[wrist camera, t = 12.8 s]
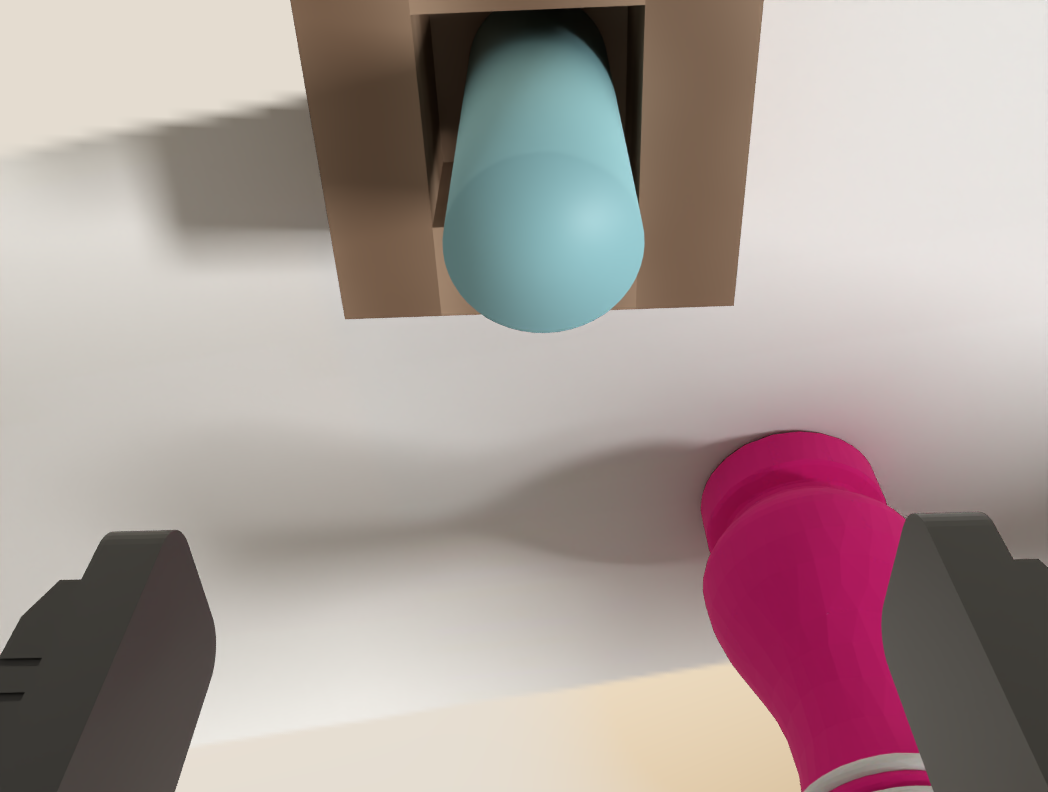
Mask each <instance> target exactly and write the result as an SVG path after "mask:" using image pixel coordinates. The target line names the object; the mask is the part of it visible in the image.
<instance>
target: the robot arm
mask: <svg viewBox="0 0 1048 792" xmlns="http://www.w3.org/2000/svg"><path fill="white" fill-rule="evenodd" d="M881 629H882V641H883V648H884V653H885V657H886V661H887V664H888V667H889V670H890V673H891V676H892V678H893V681H894V684H895V687H896V689H897V692H898V695H899V698H900V701H901V703H902V706H903V709H904V712H905V714H906V717H907V720H908V723H909V725H910V728H911V731H912V734H913V736H914V739H915V742H916V745H917V747H918V750H919V753H920V756H921V759H922V761H923V764H924V767H925V770H926V772H927V775H928V778H929V781H930V783H931V786H932V789H933V792H1048V567H1047V566H1046V565H1044V564H1043V563H1042V562H1041V561H1040V560H1039V559H1020V560H1013V558H1012V556H1011V554H1010V553H1009V551H1008V549H1007V547H1006V545H1005V543H1004V542H1003V540H1002V538H1001V536H1000V534H999V532H998V531H997V529H996V527H995V525H994V524H993V522H992V520H991V519H990V518H989V517H988V516H987V515H986V514H984V513H982V512H959V513H920V514H911V515H909V516H908V517H907V519H906V520H905V522H904V525H903V529H902V532H901V536H900V540H899V544H898V548H897V552H896V556H895V560H894V564H893V568H892V572H891V576H890V580H889V584H888V588H887V592H886V596H885V600H884V604H883V609H882V620H881ZM215 654H216V634H215V626H214V621H213V618H212V614H211V611H210V608H209V605H208V602H207V599H206V596H205V593H204V590H203V587H202V584H201V581H200V578H199V575H198V572H197V569H196V566H195V563H194V560H193V557H192V554H191V551H190V548H189V545H188V542H187V540H186V538H185V536H184V535H183V534H182V533H181V532H180V531H178V530H161V531H121V532H110V533H108V534H107V535H105V537H104V538H103V539H102V540H101V542H100V544H99V545H98V547H97V549H96V551H95V553H94V555H93V557H92V559H91V561H90V563H89V565H88V567H87V569H86V571H85V573H84V575H83V577H82V579H81V580H59V581H58V582H57V583H56V584H55V585H54V586H53V587H52V588H51V589H50V590H49V591H48V592H47V593H46V594H45V595H44V596H43V597H42V598H41V599H40V600H38V601H37V602H36V603H35V604H34V605H33V606H32V607H31V608H30V609H29V610H28V611H27V612H26V613H25V614H24V615H23V616H22V617H21V619H20V620H19V622H18V624H17V626H16V628H15V630H14V631H13V633H12V635H11V637H10V639H9V641H8V642H7V644H6V646H5V648H4V650H3V652H2V653H1V655H0V792H175V789H176V786H177V783H178V780H179V777H180V773H181V771H182V767H183V764H184V761H185V758H186V755H187V752H188V749H189V746H190V743H191V739H192V736H193V733H194V730H195V727H196V724H197V721H198V718H199V715H200V711H201V708H202V705H203V702H204V699H205V696H206V693H207V690H208V687H209V683H210V680H211V677H212V673H213V669H214V663H215Z"/></svg>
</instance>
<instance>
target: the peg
mask: <svg viewBox="0 0 1048 792" xmlns="http://www.w3.org/2000/svg"><path fill="white" fill-rule="evenodd" d="M442 240H443V255H444V261H445V265H446V268H447V271H448V274H449V276H450V278H451V280H452V282H453V284H454V286H455V287H456V289H457V290H458V292H459V293H460V295H461V296H462V297H463V298H464V299H465V300H466V302H467V303H468V304H469V305H471V306H472V307H473V308H474V309H475V310H476V311H478V312H479V313H480V314H482V315H483V316H485V317H486V318H488V319H490V320H492V321H494V322H496V323H498V324H500V325H503V326H506V327H508V328H512V329H516V330H520V331H526V332H533V333H550V332H560V331H565V330H570V329H573V328H576V327H579V326H582V325H585V324H587V323H589V322H591V321H594V320H595V319H597V318H599V317H600V316H602V315H604V314H605V313H606V312H608V311H609V310H610V309H611V308H613V307H614V306H615V305H616V304H617V303H618V302H619V301H620V300H621V299H622V298H623V297H624V295H625V294H626V293H627V292H628V290H629V289H630V287H631V286H632V284H633V282H634V281H635V279H636V277H637V274H638V272H639V269H640V267H641V263H642V259H643V254H644V229H643V224H642V219H641V214H640V209H639V204H638V200H637V195H636V190H635V185H634V181H633V176H632V171H631V166H630V161H629V157H628V152H627V147H626V142H625V138H624V133H623V128H622V123H621V118H620V114H619V109H618V104H617V99H616V95H615V90H614V85H613V80H612V76H611V71H610V66H609V61H608V56H607V52H606V47H605V43H604V40H603V37H602V35H601V33H600V31H599V29H598V28H597V26H596V25H595V23H594V22H593V20H592V19H591V18H590V17H589V16H588V15H587V14H586V13H585V12H584V11H583V10H582V9H581V8H560V9H536V10H512V11H493V12H492V13H491V14H490V15H489V16H488V17H487V18H486V19H485V21H484V22H483V23H482V24H481V26H480V28H479V29H478V31H477V33H476V35H475V37H474V40H473V42H472V46H471V50H470V56H469V62H468V69H467V76H466V83H465V89H464V96H463V103H462V109H461V116H460V123H459V130H458V136H457V143H456V150H455V156H454V163H453V170H452V177H451V183H450V190H449V197H448V203H447V210H446V217H445V224H444V231H443V239H442Z"/></svg>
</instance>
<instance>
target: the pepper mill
mask: <svg viewBox="0 0 1048 792" xmlns="http://www.w3.org/2000/svg"><path fill="white" fill-rule="evenodd" d="M701 514H702V520H703V524H704V529H705V534H706V538H707V543H708V547H709V551H710V553H711V554H710V556H709V558H708V561H707V564H706V569H705V573H704V577H703V594H704V599H705V604H706V608H707V611H708V615H709V618H710V621H711V624H712V627H713V630H714V633H715V635H716V637H717V639H718V641H719V643H720V645H721V646H722V648H723V650H724V652H725V653H726V655H727V657H728V659H729V660H730V662H731V663H732V665H733V666H734V667H735V668H736V670H737V671H738V673H739V674H740V675H741V676H742V678H743V679H744V680H745V681H746V683H747V684H748V685H749V686H750V688H751V689H752V690H753V691H754V692H755V694H756V695H757V696H758V697H759V699H760V700H761V701H762V702H763V703H764V705H765V706H766V707H767V709H768V710H769V711H770V712H771V714H772V715H773V717H774V718H775V719H776V721H777V722H778V724H779V726H780V728H781V730H782V732H783V734H784V735H785V737H786V739H787V741H788V744H789V747H790V750H791V753H792V755H793V758H794V762H795V765H796V768H797V771H798V773H799V778H800V785H801V792H933V789H932V786H931V783H930V781H929V778H928V775H927V772H926V770H925V767H924V764H923V761H922V759H921V756H920V753H919V750H918V747H917V745H916V742H915V739H914V736H913V734H912V731H911V728H910V725H909V723H908V720H907V717H906V714H905V712H904V709H903V706H902V703H901V701H900V698H899V695H898V692H897V689H896V687H895V684H894V681H893V678H892V676H891V673H890V670H889V667H888V664H887V661H886V657H885V653H884V648H883V641H882V629H881V620H882V609H883V604H884V600H885V596H886V592H887V588H888V584H889V580H890V576H891V572H892V568H893V564H894V560H895V556H896V552H897V548H898V544H899V540H900V536H901V532H902V529H903V525H904V522H905V520H906V519H905V518H903V517H902V516H901V515H900V514H899V513H897V512H896V511H895V510H894V509H892V508H890V507H889V506H887V503H886V500H885V498H884V495H883V493H882V491H881V488H880V486H879V484H878V481H877V479H876V477H875V475H874V472H873V470H872V468H871V465H870V464H869V462H868V461H867V459H866V458H865V457H864V456H863V455H862V453H861V452H860V451H858V450H857V449H856V448H855V447H853V446H852V445H850V444H848V443H846V442H845V441H843V440H841V439H839V438H835V437H832V436H828V435H825V434H821V433H812V432H801V431H798V432H790V433H782V434H774V435H770V436H767V437H765V438H762V439H759V440H757V441H754V442H751V443H749V444H746V445H744V446H743V447H741V448H740V449H738V450H737V451H735V452H734V453H732V454H731V455H730V456H728V457H727V458H726V459H725V460H724V461H723V462H722V463H721V464H720V465H719V466H718V467H717V468H716V470H715V471H714V472H713V473H712V474H711V476H710V478H709V480H708V481H707V483H706V486H705V489H704V492H703V494H702V501H701Z"/></svg>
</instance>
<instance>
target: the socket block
mask: <svg viewBox="0 0 1048 792" xmlns="http://www.w3.org/2000/svg"><path fill="white" fill-rule="evenodd" d="M290 1H291V7H292V13H293V18H294V25H295V30H296V36H297V42H298V48H299V54H300V60H301V65H302V71H303V77H304V83H305V88H306V94H307V100H308V106H309V112H310V118H311V124H312V129H313V135H314V141H315V147H316V153H317V159H318V164H319V170H320V176H321V182H322V188H323V193H324V199H325V205H326V211H327V217H328V223H329V228H330V234H331V240H332V246H333V252H334V258H335V263H336V269H337V275H338V281H339V287H340V292H341V298H342V304H343V310H344V316H345V319H364V318H392V317H421V316H450V315H478V314H480V313H479V312H478V311H476V310H475V309H474V308H473V307H472V306H471V305H469V304H468V303H467V302H466V300H465V299H464V298H463V297H462V296H461V295H460V293H459V292H458V290H457V289H456V287H455V286H454V284H453V282H452V280H451V278H450V276H449V274H448V271H447V268H446V265H445V261H444V255H443V240H442V239H443V231H444V224H445V217H446V210H447V203H448V197H449V190H450V183H451V177H452V170H453V163H454V156H455V150H456V143H457V136H458V130H459V123H460V116H461V109H462V103H463V96H464V89H465V83H466V76H467V69H468V62H469V56H470V50H471V46H472V42H473V40H474V37H475V35H476V33H477V31H478V29H479V28H480V26H481V24H482V23H483V22H484V21H485V19H486V18H487V17H488V16H489V15H490V14H491V13H492V12H493V11H512V10H536V9H560V8H581V9H582V10H583V11H584V12H585V13H586V14H587V15H588V16H589V17H590V18H591V19H592V20H593V22H594V23H595V25H596V26H597V28H598V29H599V31H600V33H601V35H602V37H603V40H604V43H605V47H606V52H607V56H608V61H609V66H610V71H611V76H612V80H613V85H614V90H615V95H616V99H617V104H618V109H619V114H620V118H621V123H622V128H623V133H624V138H625V142H626V147H627V152H628V157H629V161H630V166H631V171H632V176H633V181H634V185H635V190H636V195H637V200H638V204H639V209H640V214H641V219H642V224H643V229H644V254H643V259H642V263H641V267H640V269H639V272H638V274H637V277H636V279H635V281H634V282H633V284H632V286H631V287H630V289H629V290H628V292H627V293H626V294H625V295H624V297H623V298H622V299H621V300H620V301H619V302H618V303H617V304H616V305H615V306H614V307H613V308H611V309H610V310H622V309H650V308H679V307H708V306H734V297H735V286H736V276H737V266H738V256H739V246H740V236H741V225H742V215H743V205H744V195H745V185H746V175H747V164H748V154H749V144H750V134H751V124H752V114H753V103H754V93H755V83H756V73H757V63H758V53H759V42H760V32H761V22H762V12H763V2H764V0H290Z"/></svg>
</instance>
